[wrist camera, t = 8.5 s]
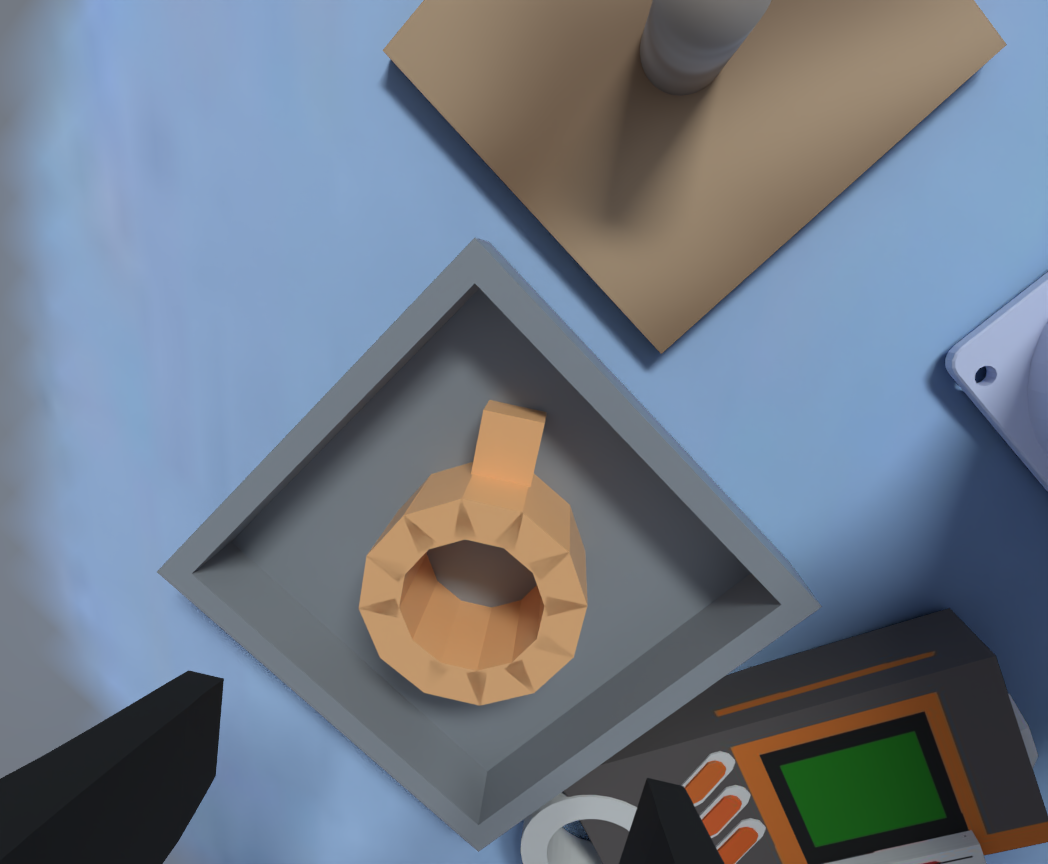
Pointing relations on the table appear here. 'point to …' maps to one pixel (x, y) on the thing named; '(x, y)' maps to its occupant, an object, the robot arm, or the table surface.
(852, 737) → the electronic device
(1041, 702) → the table surface
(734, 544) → the tray
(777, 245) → the tan square plate
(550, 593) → the ring
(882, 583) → the table surface
